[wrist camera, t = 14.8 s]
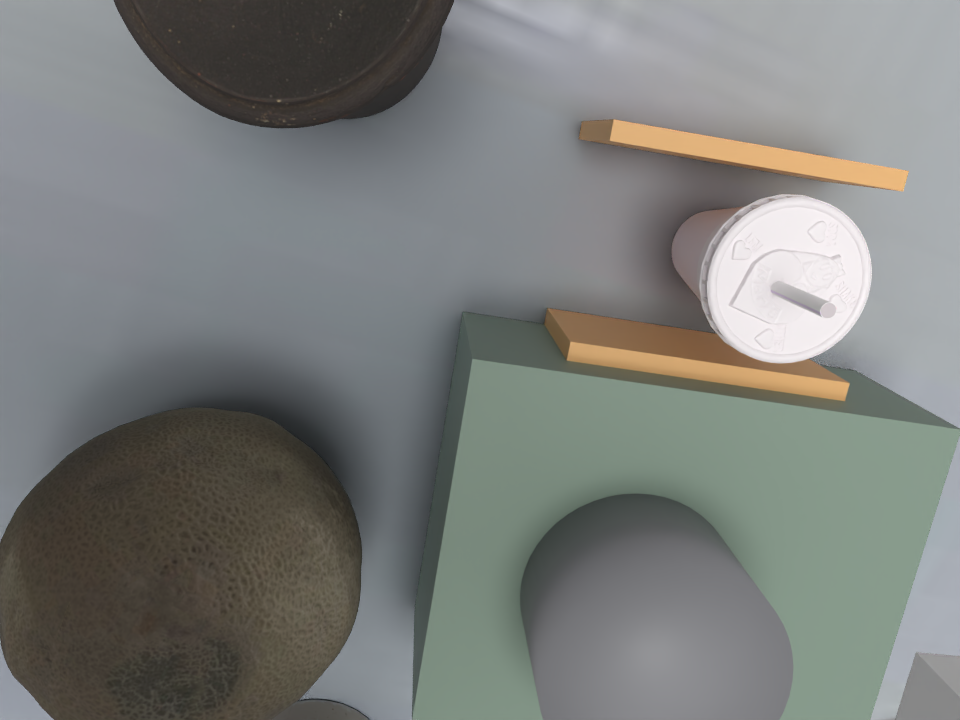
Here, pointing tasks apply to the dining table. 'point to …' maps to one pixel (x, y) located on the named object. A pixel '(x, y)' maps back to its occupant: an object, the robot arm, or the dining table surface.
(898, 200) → the dining table surface
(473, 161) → the dining table surface
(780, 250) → the smoothie
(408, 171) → the dining table surface
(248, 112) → the container
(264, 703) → the cantaloupe
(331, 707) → the thermos bottle
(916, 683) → the robot arm
